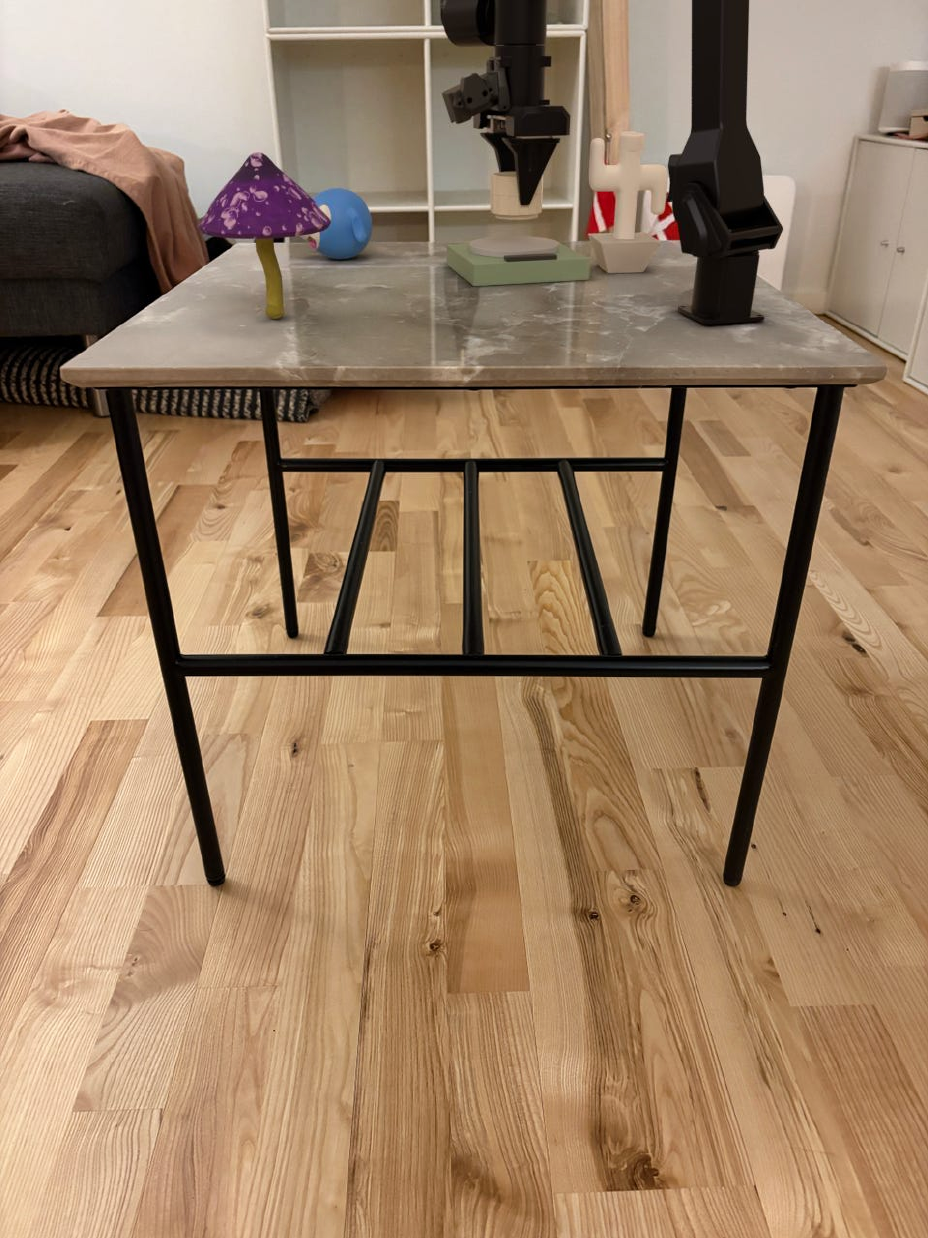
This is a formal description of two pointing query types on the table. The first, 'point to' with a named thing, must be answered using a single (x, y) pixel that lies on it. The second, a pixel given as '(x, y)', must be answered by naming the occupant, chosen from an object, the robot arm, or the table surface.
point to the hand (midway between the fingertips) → (517, 201)
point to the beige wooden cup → (512, 198)
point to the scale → (516, 261)
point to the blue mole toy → (342, 224)
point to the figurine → (626, 203)
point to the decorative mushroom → (264, 217)
